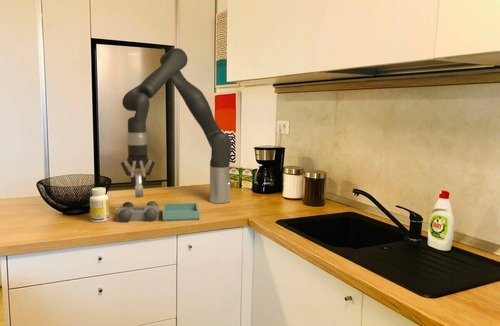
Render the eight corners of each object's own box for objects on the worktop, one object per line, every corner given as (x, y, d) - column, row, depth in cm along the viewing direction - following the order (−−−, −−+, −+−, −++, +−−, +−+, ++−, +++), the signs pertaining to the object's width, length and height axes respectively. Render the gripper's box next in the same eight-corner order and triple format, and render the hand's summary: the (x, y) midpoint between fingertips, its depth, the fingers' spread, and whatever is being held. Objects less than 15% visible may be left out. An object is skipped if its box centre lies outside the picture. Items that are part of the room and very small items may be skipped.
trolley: (159, 211, 178) (159, 200, 177) (158, 221, 165) (158, 208, 164) (115, 213, 175) (115, 201, 174) (111, 222, 161) (110, 210, 161)
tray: (197, 210, 182) (197, 202, 181) (199, 219, 167) (199, 211, 167) (163, 211, 179) (163, 203, 178) (162, 221, 165) (162, 212, 164)
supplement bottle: (103, 216, 170) (102, 186, 168) (113, 219, 166) (111, 188, 164) (87, 220, 165) (85, 188, 163) (96, 223, 160) (95, 191, 158)
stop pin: (143, 195, 170) (142, 174, 169) (143, 197, 167) (142, 175, 166) (135, 195, 170) (134, 174, 168) (135, 197, 166) (134, 175, 165)
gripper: (155, 142, 170) (156, 183, 173) (120, 142, 167) (121, 184, 170) (155, 144, 163) (156, 186, 165) (118, 144, 160) (119, 188, 163)
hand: (138, 185), depth 168 cm, fingers closed on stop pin, 3 cm apart
